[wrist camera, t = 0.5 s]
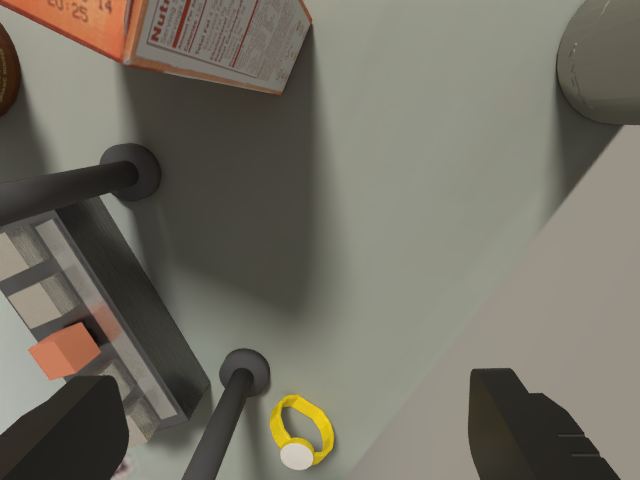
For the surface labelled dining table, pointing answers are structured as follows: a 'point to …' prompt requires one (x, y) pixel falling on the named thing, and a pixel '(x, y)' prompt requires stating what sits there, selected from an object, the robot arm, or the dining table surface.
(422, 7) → the dining table surface
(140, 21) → the cracker box
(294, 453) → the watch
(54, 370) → the breaker paddle
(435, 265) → the dining table surface
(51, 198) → the stand
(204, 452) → the stand
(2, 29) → the food container
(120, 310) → the breaker strip
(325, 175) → the dining table surface
